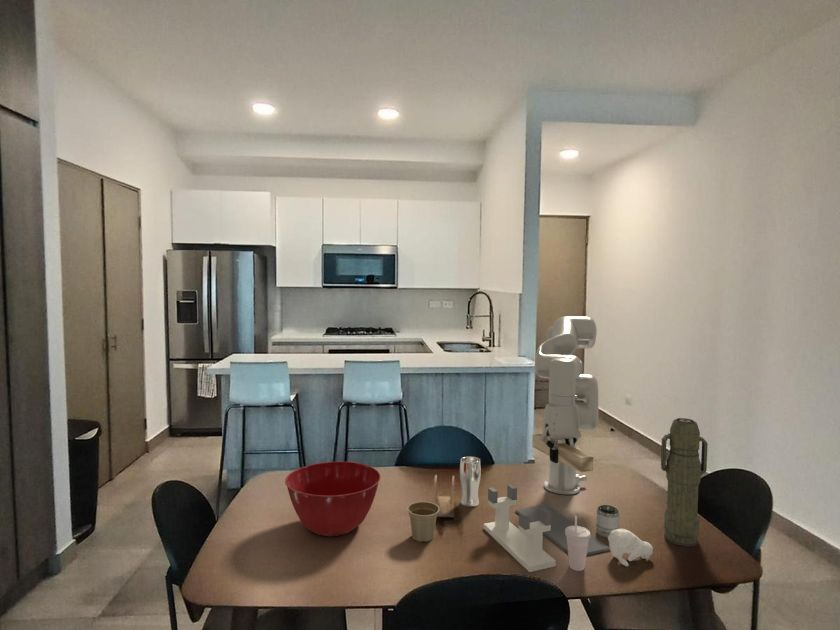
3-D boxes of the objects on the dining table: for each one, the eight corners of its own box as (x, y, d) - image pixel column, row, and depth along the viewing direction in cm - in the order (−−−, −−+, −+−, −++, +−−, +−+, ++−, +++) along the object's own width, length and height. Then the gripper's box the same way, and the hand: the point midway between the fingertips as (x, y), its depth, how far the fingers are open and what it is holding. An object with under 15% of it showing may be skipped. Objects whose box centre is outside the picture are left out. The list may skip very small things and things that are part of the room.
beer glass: (480, 499, 175) (480, 456, 175) (480, 508, 169) (481, 463, 168) (459, 498, 176) (460, 455, 175) (459, 507, 169) (459, 462, 168)
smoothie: (560, 561, 137) (561, 509, 136) (583, 559, 137) (585, 509, 136) (569, 574, 130) (570, 521, 129) (593, 573, 131) (595, 520, 130)
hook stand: (506, 524, 157) (507, 481, 157) (555, 566, 134) (556, 516, 133) (483, 528, 155) (484, 484, 154) (529, 572, 131) (530, 521, 130)
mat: (546, 506, 170) (546, 503, 170) (609, 550, 142) (610, 547, 142) (515, 511, 166) (515, 509, 166) (574, 558, 138) (574, 555, 138)
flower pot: (443, 532, 152) (443, 504, 152) (433, 547, 143) (433, 517, 143) (413, 527, 155) (413, 499, 155) (402, 542, 146) (402, 512, 146)
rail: (543, 445, 164) (543, 433, 164) (593, 470, 142) (593, 456, 142) (532, 447, 163) (532, 434, 163) (581, 472, 140) (581, 457, 140)
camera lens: (595, 536, 150) (596, 510, 150) (596, 527, 156) (597, 501, 155) (618, 540, 148) (619, 514, 147) (618, 530, 154) (619, 505, 153)
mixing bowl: (333, 498, 176) (333, 454, 175) (399, 521, 159) (399, 472, 158) (266, 530, 153) (265, 480, 152) (334, 560, 136) (334, 504, 135)
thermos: (709, 547, 144) (714, 424, 142) (666, 545, 145) (670, 424, 143) (695, 532, 153) (699, 416, 151) (654, 530, 154) (658, 415, 151)
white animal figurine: (606, 524, 139) (646, 525, 141) (603, 555, 139) (643, 555, 141) (619, 535, 133) (661, 536, 135) (616, 567, 133) (657, 567, 135)
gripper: (577, 395, 158) (575, 454, 159) (530, 399, 152) (529, 460, 153) (593, 400, 151) (591, 461, 152) (545, 404, 145) (543, 468, 146)
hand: (560, 460), depth 152 cm, fingers closed on rail, 4 cm apart
